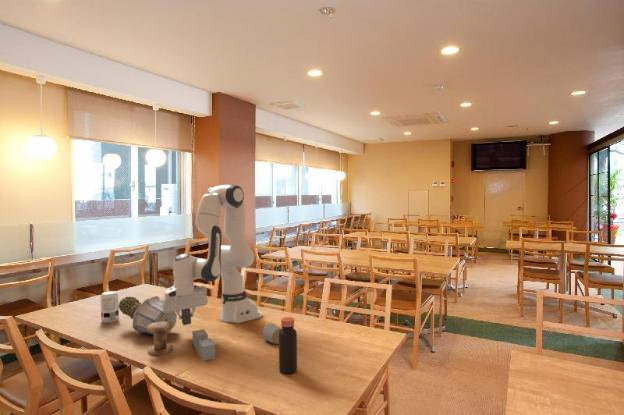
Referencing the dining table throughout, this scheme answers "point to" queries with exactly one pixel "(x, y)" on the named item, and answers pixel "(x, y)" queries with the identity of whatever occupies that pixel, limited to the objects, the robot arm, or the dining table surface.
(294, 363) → the bottle
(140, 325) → the potted plant
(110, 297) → the supplement can
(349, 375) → the dining table surface
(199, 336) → the gray stepped block
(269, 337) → the ceramic mug
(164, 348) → the wooden door knob
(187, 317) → the dark gray rectangular block
